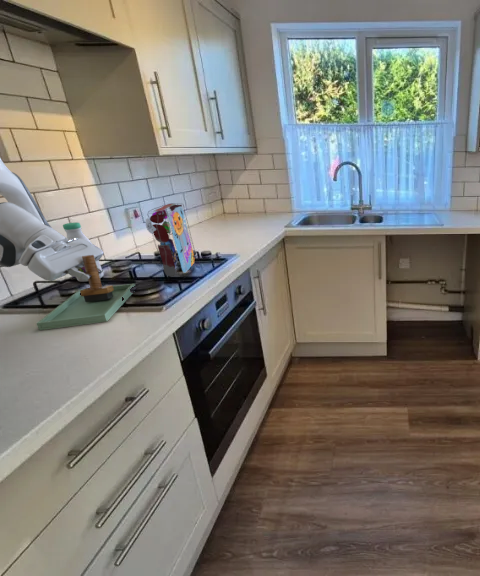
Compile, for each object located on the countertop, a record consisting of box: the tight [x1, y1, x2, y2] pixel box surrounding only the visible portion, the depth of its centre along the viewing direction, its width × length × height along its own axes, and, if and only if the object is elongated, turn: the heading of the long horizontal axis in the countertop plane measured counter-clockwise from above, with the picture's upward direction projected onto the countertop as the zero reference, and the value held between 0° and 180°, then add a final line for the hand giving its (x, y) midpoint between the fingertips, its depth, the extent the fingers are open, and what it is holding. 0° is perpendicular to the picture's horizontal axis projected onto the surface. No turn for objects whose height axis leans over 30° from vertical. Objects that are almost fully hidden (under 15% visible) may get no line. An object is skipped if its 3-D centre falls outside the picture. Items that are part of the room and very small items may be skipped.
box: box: [145, 202, 198, 282], centre depth 124 cm, size 25×6×24 cm, turn 9°
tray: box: [36, 283, 136, 331], centre depth 107 cm, size 16×24×2 cm, turn 16°
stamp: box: [80, 255, 114, 302], centre depth 109 cm, size 7×4×14 cm, turn 107°
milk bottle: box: [62, 221, 104, 283], centre depth 126 cm, size 8×8×20 cm
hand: (94, 276), depth 109 cm, fingers closed on stamp, 3 cm apart
